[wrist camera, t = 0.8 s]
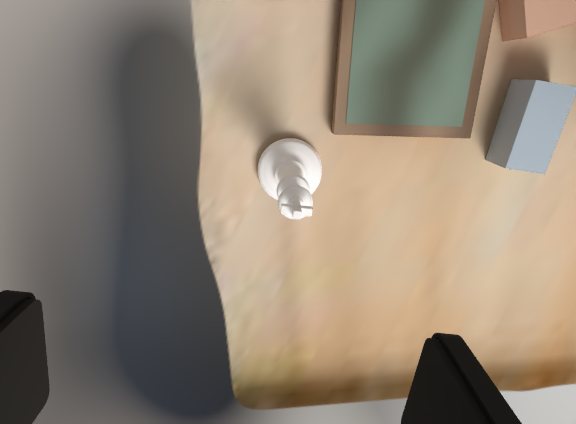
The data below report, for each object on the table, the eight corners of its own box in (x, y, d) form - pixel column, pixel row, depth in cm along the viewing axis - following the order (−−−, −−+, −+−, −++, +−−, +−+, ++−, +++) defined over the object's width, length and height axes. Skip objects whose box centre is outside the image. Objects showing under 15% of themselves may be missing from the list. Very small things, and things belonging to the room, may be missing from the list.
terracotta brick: (585, -33, 26) (623, -46, 23) (586, 15, 27) (622, 8, 24) (496, -5, 26) (523, -15, 24) (501, 41, 27) (526, 37, 25)
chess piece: (261, 134, 29) (255, 164, 19) (326, 142, 29) (351, 175, 20) (254, 197, 30) (246, 253, 21) (316, 203, 31) (335, 261, 21)
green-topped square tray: (490, -15, 26) (500, -19, 25) (462, 135, 29) (470, 138, 28) (342, -22, 26) (345, -27, 24) (331, 132, 29) (333, 134, 28)
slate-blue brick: (510, 78, 28) (536, 79, 25) (548, 85, 29) (578, 87, 26) (484, 159, 30) (505, 168, 27) (519, 164, 31) (544, 174, 28)
